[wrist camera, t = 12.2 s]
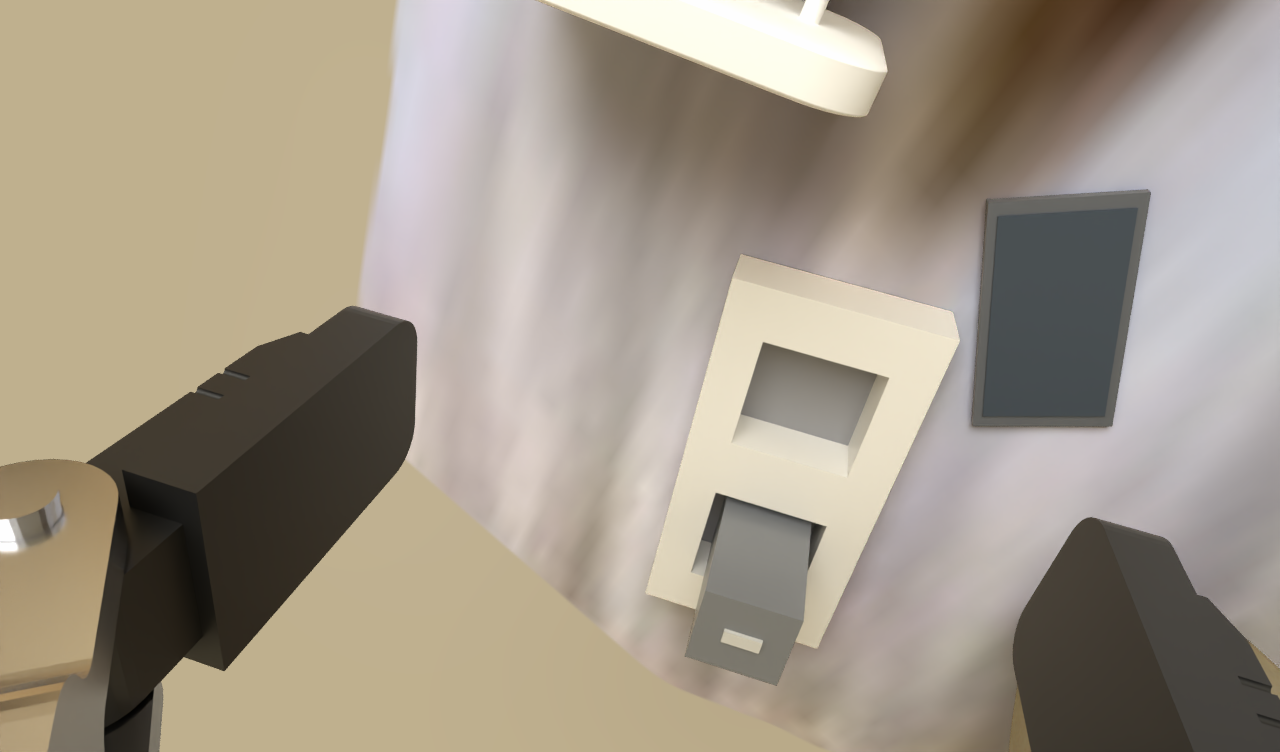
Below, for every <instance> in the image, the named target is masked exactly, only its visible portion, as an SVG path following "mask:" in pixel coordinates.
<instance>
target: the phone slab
mask: <svg viewBox="0 0 1280 752" xmlns="http://www.w3.org/2000/svg"><path fill="white" fill-rule="evenodd" d="M1150 195H1151V192H1150V191H1149V190H1148V189H1146V190H1130V191H1114V192H1098V193H1081V194H1065V195H1049V196H1033V197H1016V198H1000V199H986V214H985V229H984V243H983V258H982V273H981V287H980V302H979V317H978V331H977V346H976V361H975V375H974V390H973V405H972V419H971V421H972V425H973V426H1112V424H1113V418H1114V412H1115V406H1116V400H1117V394H1118V388H1119V382H1120V376H1121V370H1122V364H1123V358H1124V352H1125V345H1126V339H1127V333H1128V327H1129V321H1130V315H1131V309H1132V303H1133V297H1134V291H1135V285H1136V279H1137V273H1138V267H1139V261H1140V255H1141V249H1142V243H1143V237H1144V231H1145V225H1146V219H1147V213H1148V207H1149V201H1150Z"/></svg>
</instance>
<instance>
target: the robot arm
mask: <svg viewBox="0 0 1280 752" xmlns="http://www.w3.org/2000/svg"><path fill="white" fill-rule="evenodd" d="M416 365H417V334H416V330H415V327H414V325H413V324H412V323H411V322H409V321H406V320H402V319H399V318H395V317H392V316H388V315H385V314H381V313H378V312H374V311H371V310H367V309H364V308H360V307H356V306H350V307H346V308H345V309H343V310H342V311H340V312H339V313H337V314H336V315H335V316H333V317H332V318H331V319H329V320H328V321H326V322H325V323H324V324H322V325H321V326H319V327H318V328H317V329H315V330H314V331H313V332H311V333H310V334H305V333H302V332H299V333H296V334H293V335H290V336H287V337H284V338H281V339H278V340H275V341H272V342H269V343H266V344H263V345H260V346H257V347H256V348H254V349H253V350H251V351H250V352H248V353H247V354H245V355H244V356H242V357H241V358H239V359H238V360H237V361H235V362H234V363H232V364H231V365H229V366H228V367H226V368H225V371H224V373H223V374H220V373H217V374H216V375H214V376H213V377H212V378H210V379H209V380H207V381H206V382H205V383H203V384H202V385H200V386H198V388H197V391H196V393H193V392H189V393H188V394H187V395H185V396H184V397H182V398H181V399H179V400H178V401H176V402H175V403H173V404H172V405H170V406H169V407H167V408H166V409H165V410H163V411H162V412H160V413H159V414H157V415H156V416H154V417H153V418H151V419H150V420H148V421H147V422H145V423H144V424H143V425H141V426H140V427H138V428H137V429H135V430H134V431H132V432H131V433H129V434H128V435H126V436H125V437H123V438H122V439H121V440H119V441H117V442H116V443H115V444H113V445H112V446H110V447H109V448H107V449H106V450H104V451H103V452H102V453H100V454H98V455H97V456H95V457H94V458H93V459H91V460H90V461H88V462H87V463H82V462H78V461H71V460H60V459H46V460H33V461H25V462H18V463H14V464H9V465H5V466H1V467H0V752H159V747H160V735H161V721H162V708H163V688H162V683H161V681H162V679H163V678H164V677H165V676H166V675H167V674H168V673H169V672H170V671H171V670H172V669H173V668H174V667H175V666H176V665H177V663H178V662H179V661H180V660H181V659H182V658H183V657H185V658H188V659H191V660H194V661H197V662H200V663H202V664H205V665H208V666H211V667H214V668H217V669H219V670H222V671H225V670H226V669H227V668H228V666H229V665H230V664H231V663H232V662H233V661H234V659H235V658H236V657H237V656H238V655H239V654H240V653H241V651H242V650H243V649H244V648H245V647H246V646H247V644H248V643H249V642H250V641H251V640H252V639H253V637H254V636H255V635H256V634H257V633H258V632H259V631H260V629H261V628H262V627H263V626H264V625H265V624H266V623H267V621H268V620H269V619H270V618H271V617H272V616H273V614H274V613H275V612H276V611H277V610H278V609H279V608H280V606H281V605H282V604H283V603H284V602H285V601H286V600H287V598H288V597H289V596H290V595H291V594H292V593H293V591H294V590H295V589H296V588H297V587H298V586H299V584H300V583H301V582H302V581H303V580H304V579H305V578H306V576H307V575H308V574H309V573H310V572H311V571H312V570H313V568H314V567H315V566H316V565H317V564H318V563H319V562H320V560H321V559H322V558H323V557H324V556H325V555H326V553H327V552H328V551H329V550H330V549H331V548H332V547H333V545H334V544H335V543H336V542H337V541H338V540H339V538H340V537H341V536H342V535H343V534H344V533H345V531H346V530H347V529H348V528H349V527H350V526H351V525H352V523H353V522H354V521H355V520H356V519H357V518H358V516H359V515H360V514H361V513H362V512H363V510H365V508H366V507H367V506H368V505H369V504H370V503H371V502H372V500H373V499H374V498H375V497H376V496H377V495H378V493H379V492H380V491H381V490H382V489H383V488H384V487H385V485H386V484H387V483H388V482H389V481H390V479H391V478H392V477H393V476H394V475H395V474H396V473H397V471H398V470H399V468H400V467H401V465H402V463H403V462H404V460H405V458H406V456H407V453H408V451H409V448H410V445H411V442H412V438H413V434H414V427H415V400H416ZM1013 664H1014V670H1015V675H1016V680H1017V685H1018V690H1019V695H1020V700H1021V705H1022V710H1023V714H1024V719H1025V724H1026V729H1027V734H1028V739H1029V744H1030V749H1031V752H1280V699H1279V697H1278V695H1274V694H1271V688H1272V684H1271V683H1270V681H1269V679H1268V677H1267V675H1266V673H1265V671H1264V670H1263V668H1262V666H1261V664H1260V662H1259V660H1258V659H1257V657H1256V655H1255V653H1254V651H1253V649H1252V647H1251V646H1250V644H1249V642H1248V641H1247V640H1246V639H1245V637H1244V636H1243V635H1242V634H1241V633H1240V632H1239V631H1238V630H1237V629H1236V628H1235V627H1234V626H1233V625H1232V624H1231V623H1230V621H1229V620H1228V619H1227V618H1226V617H1225V616H1224V615H1223V614H1222V613H1221V612H1220V611H1219V610H1218V609H1217V608H1216V607H1215V606H1214V604H1213V603H1212V602H1211V601H1210V600H1209V599H1208V598H1206V597H1202V596H1199V595H1197V594H1196V592H1195V590H1194V588H1193V586H1192V584H1191V582H1190V580H1189V578H1188V576H1187V574H1186V572H1185V570H1184V568H1183V566H1182V564H1181V562H1180V560H1179V558H1178V556H1177V554H1176V552H1175V550H1174V548H1173V547H1172V545H1171V543H1170V542H1169V541H1168V540H1167V539H1165V538H1163V537H1160V536H1157V535H1153V534H1150V533H1146V532H1143V531H1139V530H1136V529H1132V528H1129V527H1125V526H1121V525H1118V524H1114V523H1111V522H1107V521H1104V520H1100V519H1097V518H1092V517H1090V518H1086V519H1084V520H1082V521H1081V522H1080V523H1079V524H1078V525H1077V526H1076V527H1075V528H1074V529H1073V531H1072V532H1071V534H1070V535H1069V537H1068V539H1067V540H1066V542H1065V544H1064V545H1063V547H1062V548H1061V550H1060V552H1059V553H1058V555H1057V557H1056V558H1055V560H1054V561H1053V563H1052V565H1051V566H1050V568H1049V569H1048V571H1047V573H1046V574H1045V576H1044V578H1043V579H1042V581H1041V582H1040V584H1039V586H1038V587H1037V589H1036V591H1035V592H1034V594H1033V595H1032V597H1031V599H1030V600H1029V602H1028V603H1027V605H1026V607H1025V608H1024V610H1023V612H1022V614H1021V616H1020V619H1019V622H1018V625H1017V628H1016V632H1015V637H1014V644H1013Z"/></svg>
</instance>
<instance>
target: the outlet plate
mask: <svg viewBox="0 0 1280 752" xmlns="http://www.w3.org/2000/svg"><path fill="white" fill-rule="evenodd" d="M959 342H960V339H959V335H958V331H957V327H956V323H955V319H954V315H953V312H951V311H948V310H944V309H940V308H937V307H933V306H929V305H926V304H922V303H918V302H915V301H911V300H907V299H904V298H900V297H896V296H893V295H889V294H885V293H882V292H878V291H874V290H871V289H867V288H863V287H860V286H856V285H852V284H849V283H845V282H841V281H838V280H834V279H830V278H827V277H823V276H819V275H816V274H812V273H808V272H805V271H801V270H797V269H794V268H790V267H786V266H783V265H779V264H775V263H772V262H768V261H764V260H761V259H757V258H753V257H750V256H746V255H742V254H741V255H740V258H739V261H738V263H737V266H736V269H735V272H734V274H733V277H732V280H731V284H730V288H729V291H728V295H727V299H726V302H725V306H724V309H723V313H722V317H721V320H720V324H719V328H718V331H717V335H716V338H715V342H714V346H713V349H712V353H711V357H710V360H709V364H708V367H707V371H706V375H705V378H704V382H703V386H702V389H701V393H700V396H699V400H698V404H697V407H696V411H695V415H694V418H693V422H692V426H691V429H690V433H689V436H688V440H687V444H686V447H685V451H684V455H683V458H682V462H681V465H680V469H679V473H678V476H677V480H676V484H675V487H674V491H673V494H672V498H671V502H670V505H669V509H668V513H667V516H666V520H665V523H664V527H663V531H662V534H661V538H660V542H659V545H658V549H657V552H656V556H655V560H654V563H653V567H652V571H651V574H650V578H649V581H648V585H647V589H646V592H645V593H646V594H649V595H652V596H656V597H659V598H662V599H665V600H668V601H671V602H674V603H677V604H680V605H683V606H686V607H689V608H693V609H696V607H697V603H698V599H699V595H700V590H701V586H702V582H703V578H704V574H705V570H706V565H707V561H708V557H709V553H710V549H711V545H712V540H713V536H714V533H715V529H716V526H717V523H718V519H719V516H720V513H721V510H722V506H723V503H724V500H725V497H726V496H729V497H732V498H735V499H739V500H742V501H745V502H748V503H752V504H755V505H758V506H762V507H765V508H768V509H771V510H775V511H778V512H781V513H784V514H788V515H791V516H794V517H797V518H801V519H804V520H807V521H810V522H811V535H810V548H809V560H808V573H807V586H806V598H805V611H804V622H803V624H802V627H801V629H800V631H799V634H798V636H797V638H796V641H795V642H797V643H801V644H804V645H807V646H810V647H813V648H816V649H817V648H818V646H819V643H820V641H821V639H822V637H823V635H824V633H825V630H826V628H827V626H828V624H829V622H830V620H831V618H832V615H833V613H834V611H835V609H836V607H837V605H838V602H839V600H840V598H841V596H842V594H843V592H844V589H845V587H846V585H847V583H848V581H849V579H850V577H851V574H852V572H853V570H854V568H855V566H856V564H857V561H858V559H859V557H860V555H861V553H862V551H863V549H864V546H865V544H866V542H867V540H868V538H869V536H870V533H871V531H872V529H873V527H874V525H875V523H876V521H877V518H878V516H879V514H880V512H881V510H882V508H883V505H884V503H885V501H886V499H887V497H888V495H889V493H890V490H891V488H892V486H893V484H894V482H895V480H896V477H897V475H898V473H899V471H900V469H901V467H902V465H903V462H904V460H905V458H906V456H907V454H908V452H909V449H910V447H911V445H912V443H913V441H914V439H915V437H916V434H917V432H918V430H919V428H920V426H921V424H922V421H923V419H924V417H925V415H926V413H927V411H928V409H929V406H930V404H931V402H932V400H933V398H934V396H935V393H936V391H937V389H938V387H939V385H940V383H941V381H942V378H943V376H944V374H945V372H946V370H947V368H948V365H949V363H950V361H951V359H952V357H953V355H954V352H955V350H956V348H957V346H958V344H959Z"/></svg>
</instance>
